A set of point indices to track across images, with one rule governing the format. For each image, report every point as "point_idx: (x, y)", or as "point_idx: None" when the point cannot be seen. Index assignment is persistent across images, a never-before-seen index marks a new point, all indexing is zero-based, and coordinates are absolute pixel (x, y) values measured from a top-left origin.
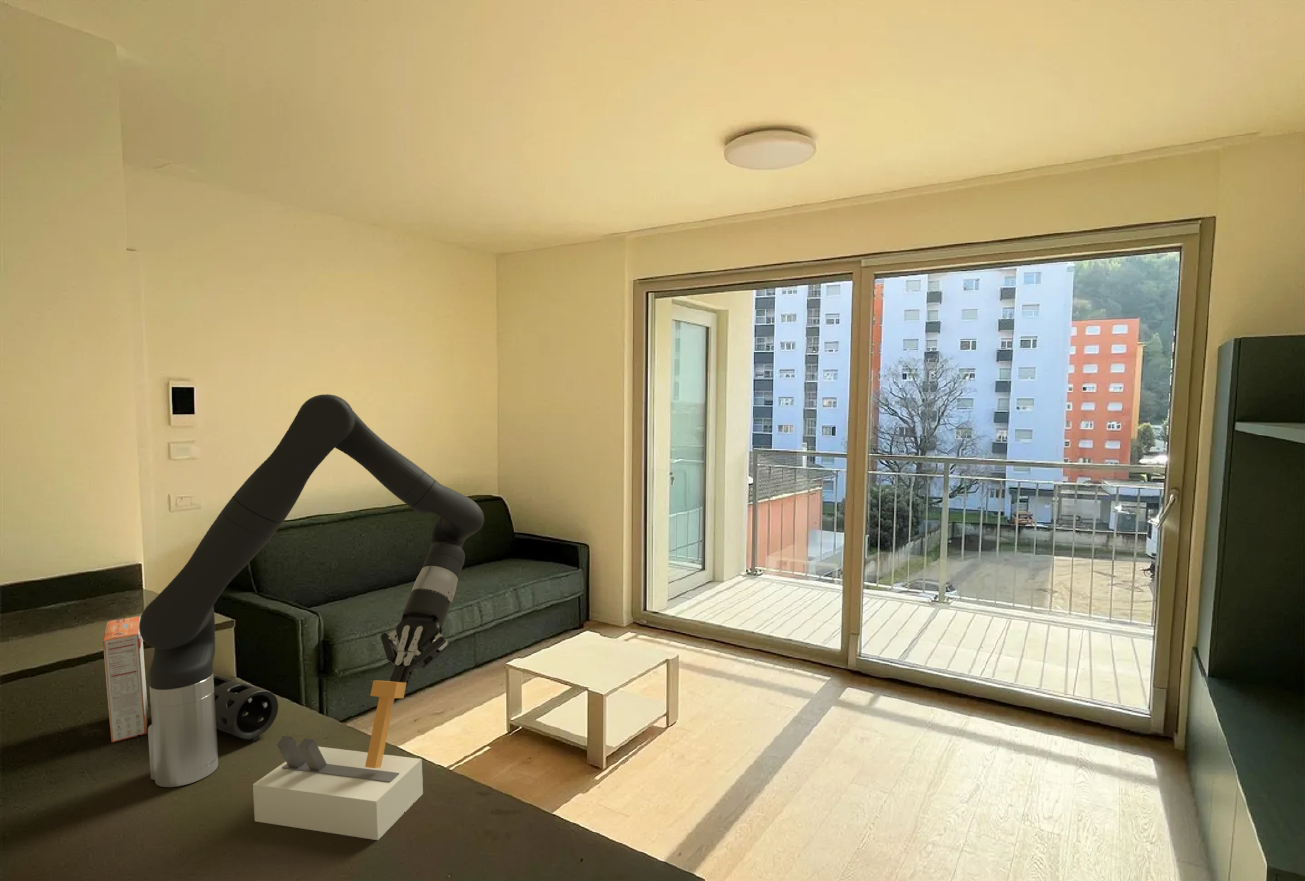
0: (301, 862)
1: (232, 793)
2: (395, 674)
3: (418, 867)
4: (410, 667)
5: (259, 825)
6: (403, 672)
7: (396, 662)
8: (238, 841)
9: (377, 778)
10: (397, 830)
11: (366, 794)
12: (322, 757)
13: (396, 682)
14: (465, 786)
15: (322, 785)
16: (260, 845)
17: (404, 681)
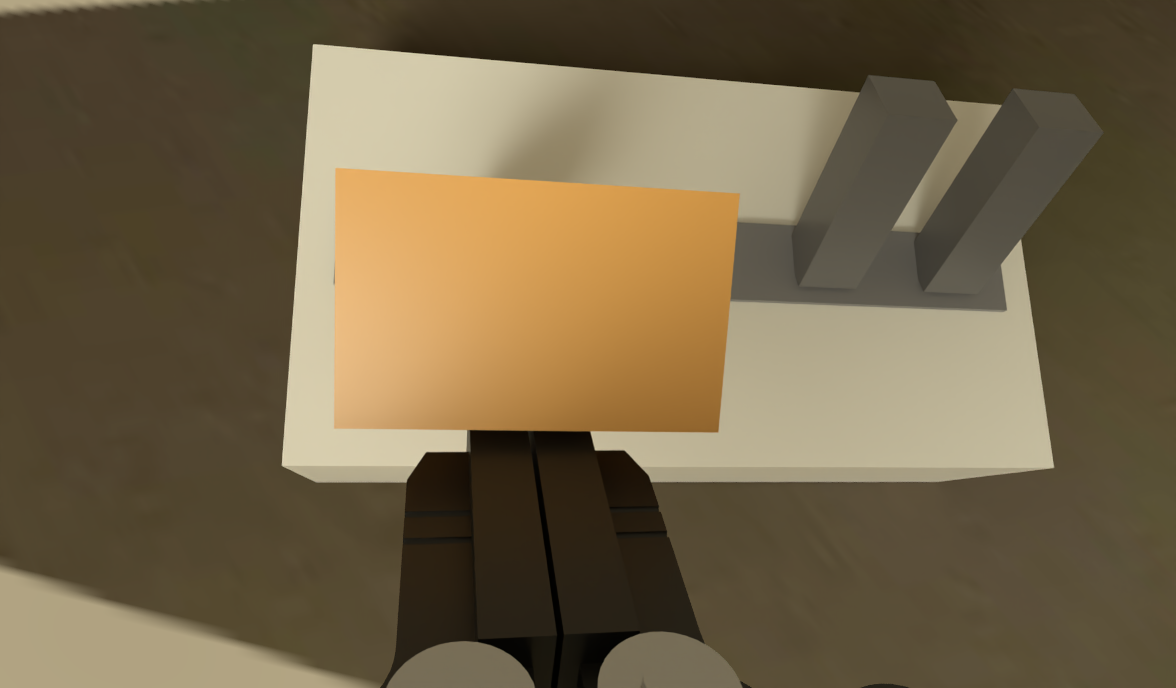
0: (553, 6)
1: (1138, 323)
2: (591, 514)
3: (69, 21)
4: (384, 683)
5: None
6: (473, 567)
7: (705, 676)
8: (859, 78)
9: None
10: (289, 210)
11: (404, 91)
12: (821, 239)
13: (348, 171)
14: (104, 598)
15: (683, 132)
16: (767, 68)
17: (412, 495)
